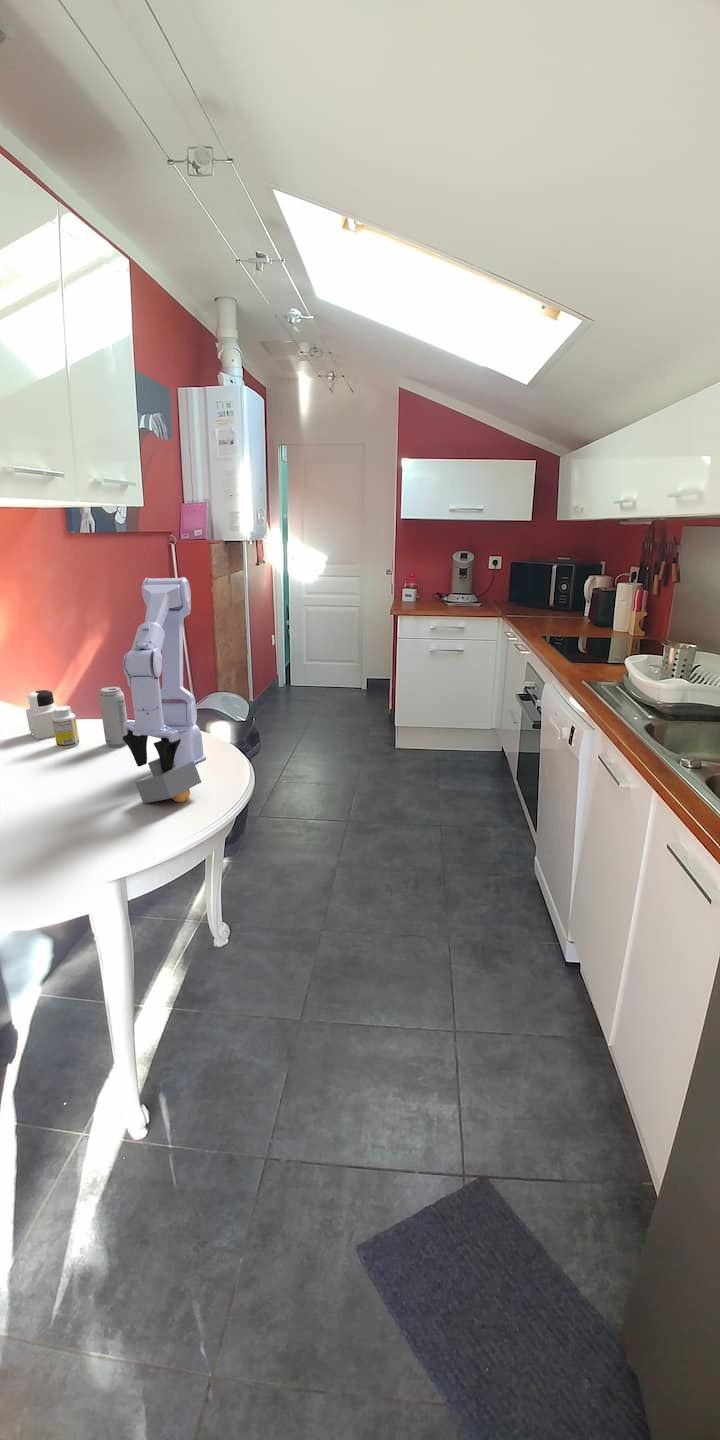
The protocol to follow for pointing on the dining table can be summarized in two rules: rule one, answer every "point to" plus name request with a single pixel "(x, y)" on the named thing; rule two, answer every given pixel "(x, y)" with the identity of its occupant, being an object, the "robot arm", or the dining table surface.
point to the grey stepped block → (167, 781)
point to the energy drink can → (113, 715)
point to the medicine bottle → (41, 714)
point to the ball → (182, 796)
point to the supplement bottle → (65, 727)
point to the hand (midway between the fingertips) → (154, 768)
